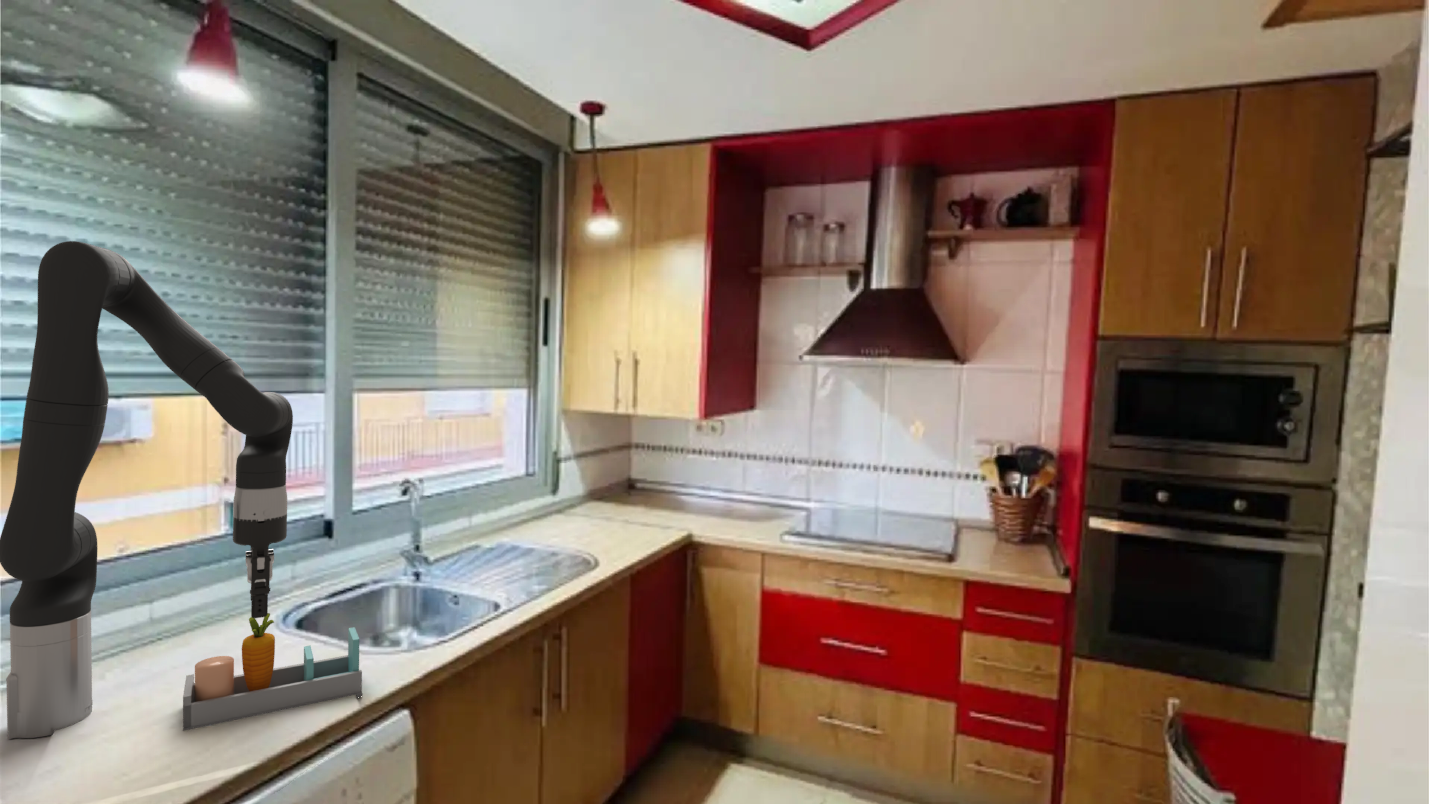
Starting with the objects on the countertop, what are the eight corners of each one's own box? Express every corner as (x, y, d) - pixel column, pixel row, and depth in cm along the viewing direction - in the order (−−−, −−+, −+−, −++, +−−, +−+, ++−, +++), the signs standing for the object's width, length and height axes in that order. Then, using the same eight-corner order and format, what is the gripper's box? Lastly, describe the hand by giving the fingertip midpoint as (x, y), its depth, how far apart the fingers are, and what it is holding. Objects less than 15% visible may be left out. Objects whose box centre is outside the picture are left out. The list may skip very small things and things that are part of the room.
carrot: (269, 691, 121) (268, 606, 120) (281, 700, 118) (280, 613, 117) (236, 702, 117) (235, 614, 116) (248, 711, 114) (247, 621, 114)
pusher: (306, 699, 119) (306, 648, 119) (303, 684, 124) (304, 635, 124) (358, 688, 124) (359, 639, 123) (354, 674, 129) (354, 627, 128)
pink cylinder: (194, 721, 111) (193, 672, 110) (195, 707, 115) (195, 660, 115) (233, 713, 114) (233, 665, 113) (234, 699, 118) (234, 653, 118)
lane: (182, 735, 108) (182, 699, 108) (186, 707, 116) (186, 673, 116) (362, 697, 122) (362, 664, 122) (354, 675, 130) (354, 644, 130)
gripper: (233, 506, 120) (231, 599, 121) (232, 523, 108) (230, 626, 109) (284, 503, 124) (282, 593, 125) (289, 520, 112) (287, 619, 113)
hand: (258, 608), depth 117 cm, fingers open, 8 cm apart
